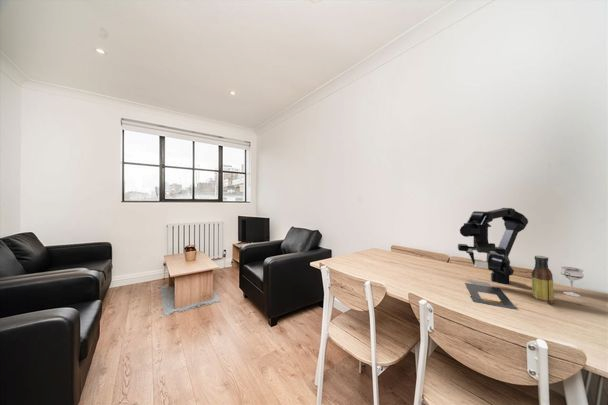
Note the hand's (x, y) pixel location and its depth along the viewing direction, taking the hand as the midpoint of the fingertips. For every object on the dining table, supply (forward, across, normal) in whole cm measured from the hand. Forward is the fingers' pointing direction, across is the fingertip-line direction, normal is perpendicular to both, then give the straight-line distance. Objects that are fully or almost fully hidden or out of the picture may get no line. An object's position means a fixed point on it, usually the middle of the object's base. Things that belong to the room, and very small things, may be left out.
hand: (480, 265), depth 108 cm
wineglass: (+11, +35, +9) cm, 38 cm away
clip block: (0, 0, 0) cm, 0 cm away
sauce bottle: (+11, +20, -6) cm, 24 cm away
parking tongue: (+11, 0, +2) cm, 11 cm away
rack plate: (+11, 0, -10) cm, 15 cm away
